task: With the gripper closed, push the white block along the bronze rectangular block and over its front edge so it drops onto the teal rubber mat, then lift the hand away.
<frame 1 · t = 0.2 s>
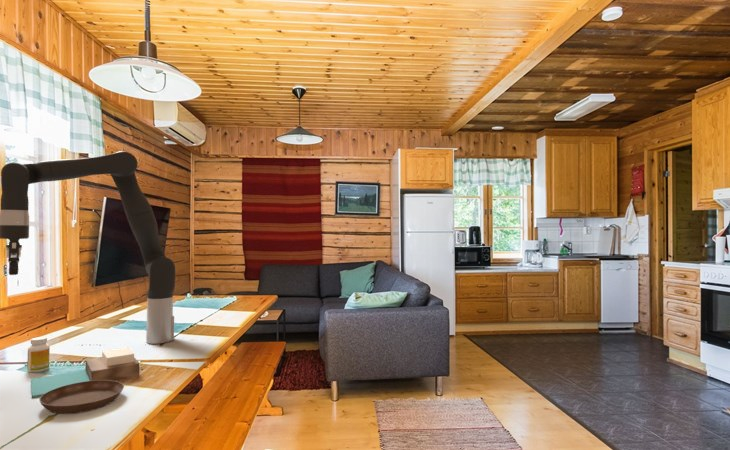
hand: (13, 273, 137), 29 cm above the table, tool pointing down, fingers open, 8 cm apart
bronze rectangular block: (111, 374, 126), on the table
plant saucer: (83, 404, 106), on the table
mat: (60, 383, 118), on the table
white block: (117, 360, 127), point 4 cm above the table, touching bronze rectangular block
supplement bottle: (38, 370, 130), on the table
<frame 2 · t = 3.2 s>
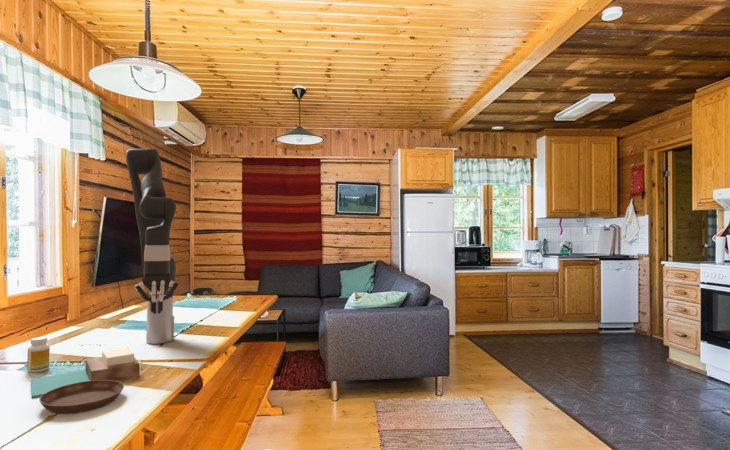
hand: (156, 313, 134), 17 cm above the table, tool pointing down, fingers closed
nothing on the table moved.
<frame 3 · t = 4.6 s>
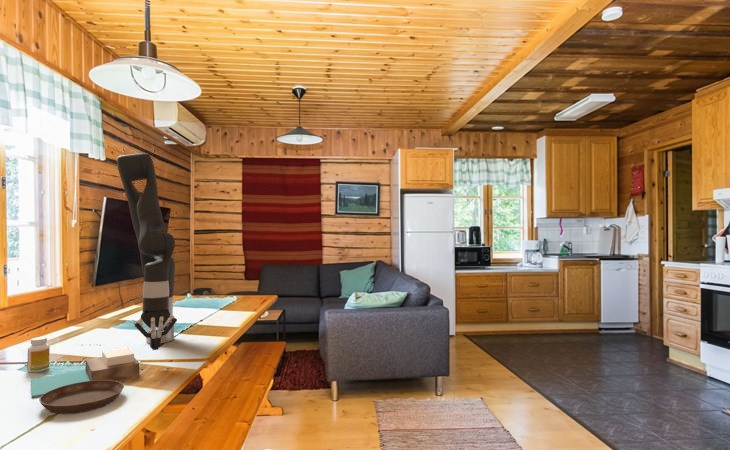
hand: (155, 349, 134), 6 cm above the table, tool pointing down, fingers closed
nothing on the table moved.
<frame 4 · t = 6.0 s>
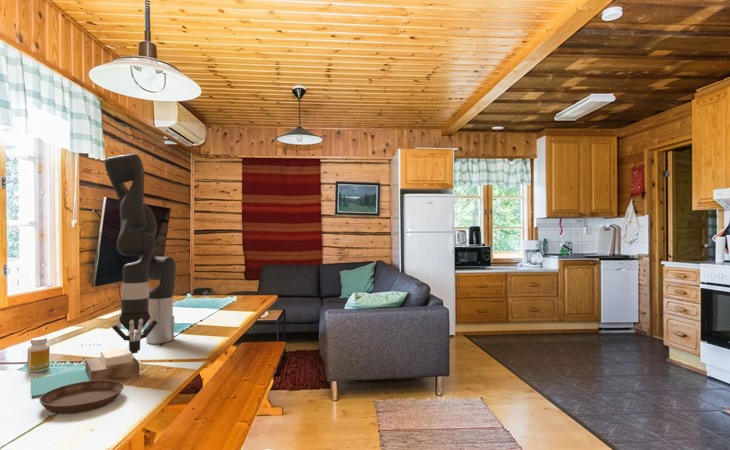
hand: (134, 352, 130), 6 cm above the table, tool pointing down, fingers closed
white block: (116, 360, 127), point 4 cm above the table, touching bronze rectangular block, gripper
everything else where it was.
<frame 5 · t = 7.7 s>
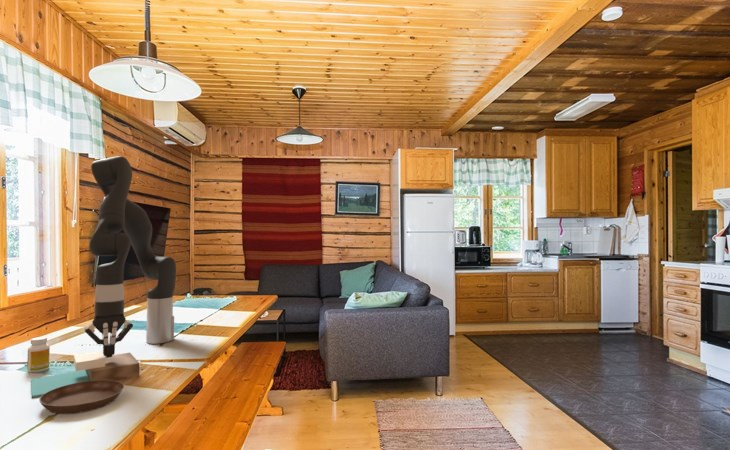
hand: (108, 356, 126), 6 cm above the table, tool pointing down, fingers closed
white block: (89, 364, 123), point 4 cm above the table, touching bronze rectangular block, gripper
everything else where it was.
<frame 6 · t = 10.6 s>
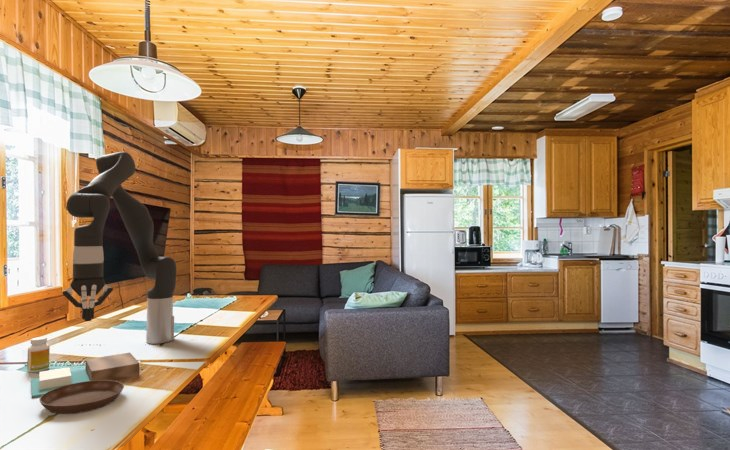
hand: (87, 320, 123), 17 cm above the table, tool pointing down, fingers closed
white block: (55, 373, 118), point 3 cm above the table, tilted 180°, touching mat
everything else where it was.
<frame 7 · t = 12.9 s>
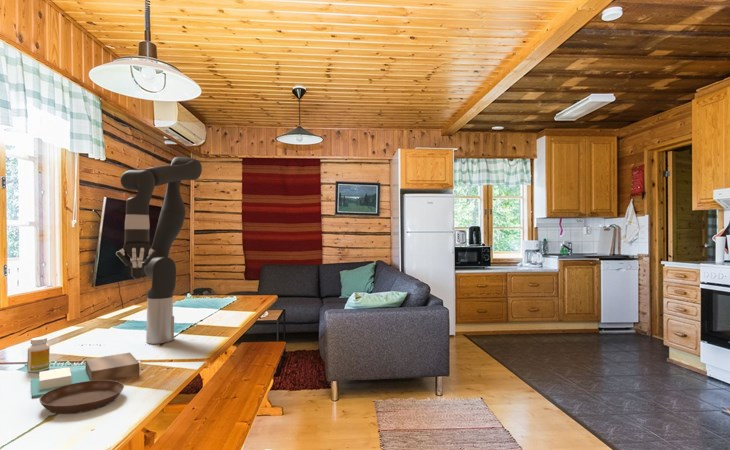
hand: (136, 278, 144), 27 cm above the table, tool pointing down, fingers closed
nothing on the table moved.
at the end: white block point 3.0 cm above the table; white block inside the target area (1.4 cm from its centre), point 3.0 cm above the table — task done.
